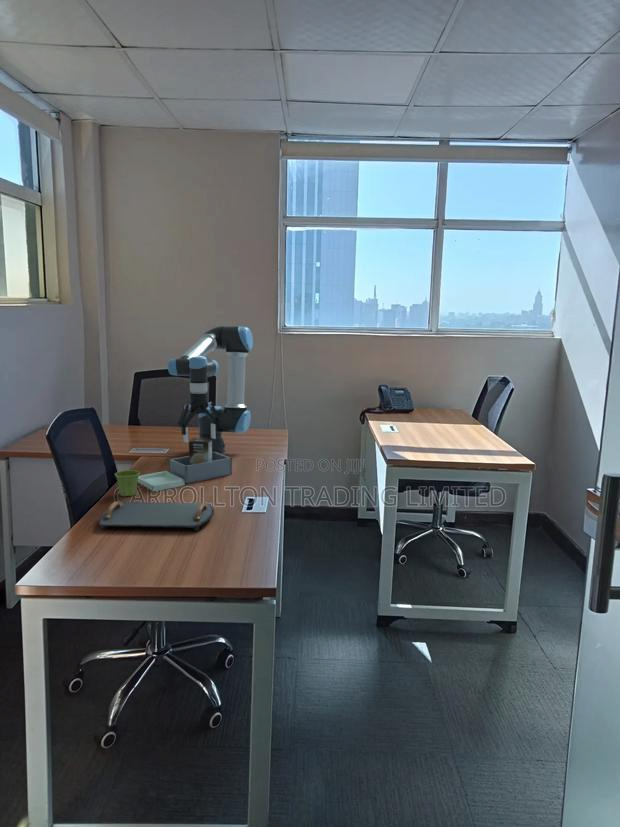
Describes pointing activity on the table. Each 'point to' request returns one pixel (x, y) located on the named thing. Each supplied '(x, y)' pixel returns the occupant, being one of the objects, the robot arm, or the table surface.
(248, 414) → the robot arm
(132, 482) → the plant pot
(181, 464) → the grey storage bin
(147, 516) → the serving board
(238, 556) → the table surface
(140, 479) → the tray
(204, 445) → the coffee box
